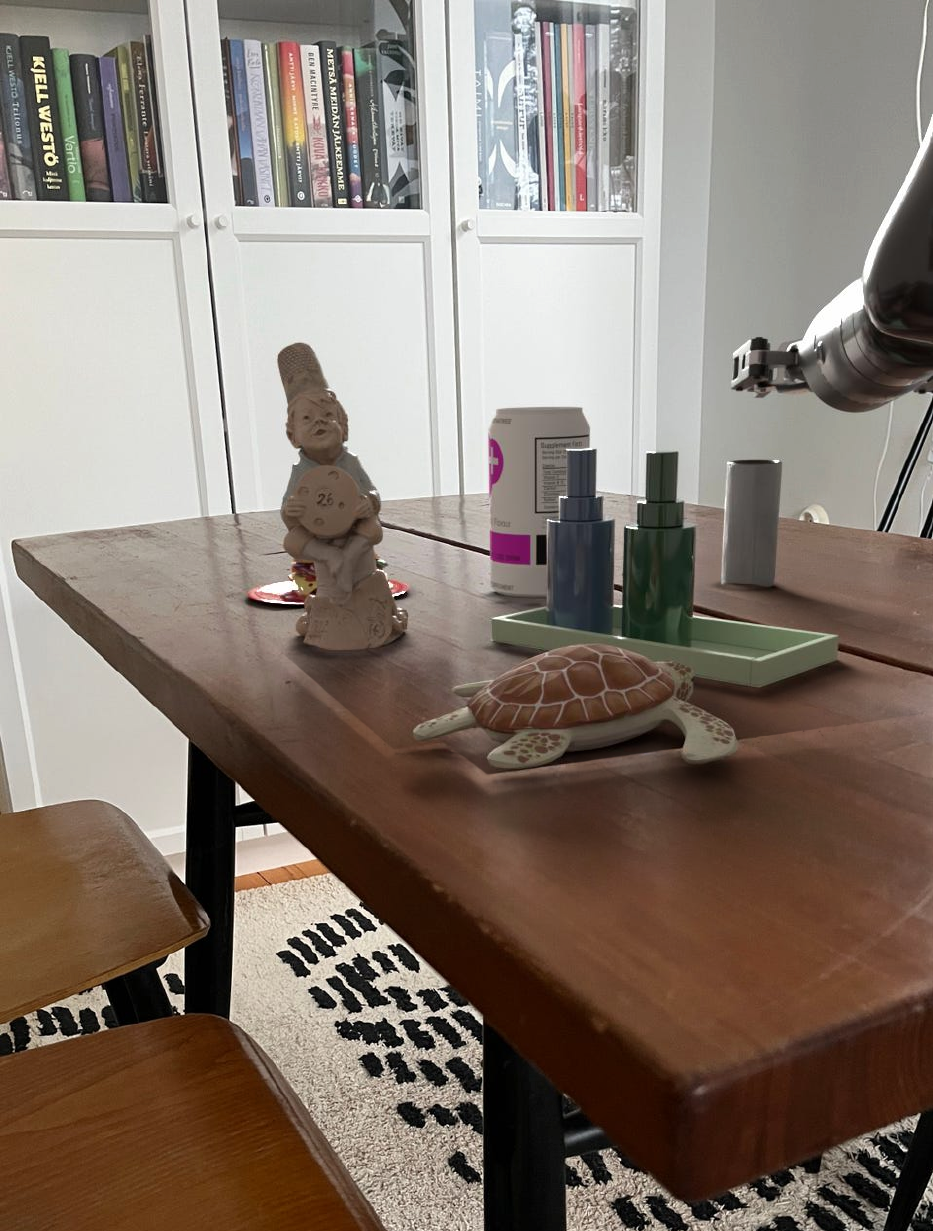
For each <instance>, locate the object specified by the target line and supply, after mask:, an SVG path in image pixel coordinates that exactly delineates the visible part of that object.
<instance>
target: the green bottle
mask: <svg viewBox="0 0 933 1231" xmlns="http://www.w3.org/2000/svg"><path fill="white" fill-rule="evenodd" d="M679 453H680V452H679V451H678V450H666V449H665V450H649V451H646V453H645V482H644V484H645V485H644V486H645V487H644V488H645V492H644V499H639V500H637V502H636V521H635V522H629V523H626V524H624V526H623V547H622V590H621V591H622V593H621V595H622V596H621V606H622V631H621V637H626V638H632V639H639V640H645V641H651V642H658V643H664V644H670V645H677V646H683V647H689V648H692V625H693V616H694V599H695V579H696V578H695V577H696V576H695V574H696V556H697V555H696V552H697V530H698V529H697V528H698V526H697V524H695V523H692V522H688V521H685V509H686V501H685V500H684V499H680V498H678V487H679V486H678V482H679Z"/></svg>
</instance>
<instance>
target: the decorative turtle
mask: <svg viewBox="0 0 933 1231" xmlns="http://www.w3.org/2000/svg"><path fill="white" fill-rule="evenodd" d="M694 680H695V676H694V672H693V670H692V669H691V668H690V667H688V666H686V665H683V664H681V663H678V662H675V661H660V662H652V661H651V660H649V659H648V658H646V657H645V656H643V655H640V654H637V653H634V652H631V651H628V650H625V649H623V648H620V647H615V646H610V645H605V644H577V645H572V646H566V647H562V648H557V649H553V650H551V651H549V650H548V651H546V652H543V653H540V654H537V655H534V656H533V657H530V658H528V659H526V660H524V661H522V662H520V663H518V664H516V665H515V666H513V667H511V668H510V669H509V670H507V671H505V672H504V673H503V674H501V675H499V676H498V677H497V678H495V679H490V680H483V681H477V682H472V683H471V682H470V683H466V684H460V685H456V686H454V687H452V689H451V691H452V692H453V694H455V695H456V696H457V697H461V698H469V699H468V700H467V702H466V704H465V707H463V708H459V709H456V710H454V711H452V712H449V713H446V714H444V715H442V716H438V717H436V718H433V719H430V720H425V721H423V722H422V723H420V724H418V725H416V727H415V728H414V729H413V730H412V734H413V738H414V740H417V741H421V742H425V741H428V740H432V739H437V738H441V737H445V736H448V735H452V734H454V733H458V732H460V731H465V730H470V729H475V728H479V729H482V730H483V731H484V732H486V734H487V736H488V737H489V738H490V740H491V741H492V742H497V743H502V744H501V745H499V746H497V747H495V748H494V749H492V750H491V752H489V753H488V755H487V756H486V759H487V761H488V764H489V765H490V766H493V767H495V768H498V769H504V770H521V769H530V768H536V767H540V766H545V765H548V764H551V763H552V762H554V761H555V760H557V759H558V758H560V757H562V756H563V755H564V753H565V752H568V753H569V752H571V753H573V752H574V753H575V752H581V751H582V752H583V751H589V750H590V751H591V750H595V749H601V748H606V747H609V746H614V745H617V744H620V743H623V742H626V741H629V740H631V739H634V738H637V737H640V736H643V735H645V734H648V733H650V732H652V731H653V730H655V729H656V728H658V727H659V726H660V725H662V724H663V723H666V722H670V723H673V724H675V725H676V726H677V727H678V728H679V729H680V730H681V732H682V733H683V735H684V737H685V740H684V744H683V746H682V754H681V757H682V760H683V761H684V762H686V763H687V764H691V765H703V764H707V763H711V762H715V761H719V760H722V759H726V758H728V757H730V756H731V755H733V754H734V753H736V752H737V751H738V749H739V745H740V743H739V742H738V739H737V737H736V733H735V730H734V728H733V727H731V726H730V724H729V723H728V722H726V721H724V720H722V719H721V718H719V717H717V716H716V715H713V714H712V713H710V712H708V711H706V710H704V709H702V708H700V707H697V706H696V705H693V704H691V703H689V702H687V701H689V699H690V698H691V696H692V694H693V692H694Z"/></svg>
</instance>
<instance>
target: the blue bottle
mask: <svg viewBox="0 0 933 1231" xmlns="http://www.w3.org/2000/svg"><path fill="white" fill-rule="evenodd" d="M597 455H598V449H597V448H595V447H590V448H570V449H567V450H566V494H565V495H560V496H559V516H557V517H551V518H548V519H547V597H546V606H547V625H550V626H556V627H562V628H569V629H575V630H581V631H588V632H594V633H600V634H607V635H613V609H614V605H615V604H614V603H615V602H614V601H615V556H616V554H615V553H616V552H615V550H616V518H615V517H613V516H611V515H610V516H609V515H604V508H605V507H604V504H605V502H604V501H605V499H604V498H605V496H604V495H603V494H600V493H597V470H598V469H597V468H598V467H597V466H598V465H597V462H598V461H597V460H598V456H597Z"/></svg>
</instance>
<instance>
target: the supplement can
mask: <svg viewBox="0 0 933 1231" xmlns="http://www.w3.org/2000/svg"><path fill="white" fill-rule="evenodd" d="M491 420H492V421H491V422H490V424H489V426H488V428H487V429H488V430H487V433H488V434H487V436H488V437H487V440H488V441H487V444H488V446H487V448H488V504H489V505H488V507H489V508H488V513H489V514H488V515H489V516H488V517H489V518H488V519H489V577H490V578H489V580H490V581H489V582H490V584H489V585H490V586H489V587H490V588H491V589H492V590H493V591H494V592H495V593H497V594H498V595H499V594H500V595H504V596H507V597H508V596H509V597H518V598H547V519H548V518H551V517H557V516H559V496H560V495H565V494H566V450H567V449H570V448H591V426H590V424H589V422H588V420H587V418H586V416H585V413H584V411H583V407H582V406H527V407H526V406H525V407H522V406H521V407H503V408H495V414H494V416H493V418H492V419H491Z"/></svg>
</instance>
